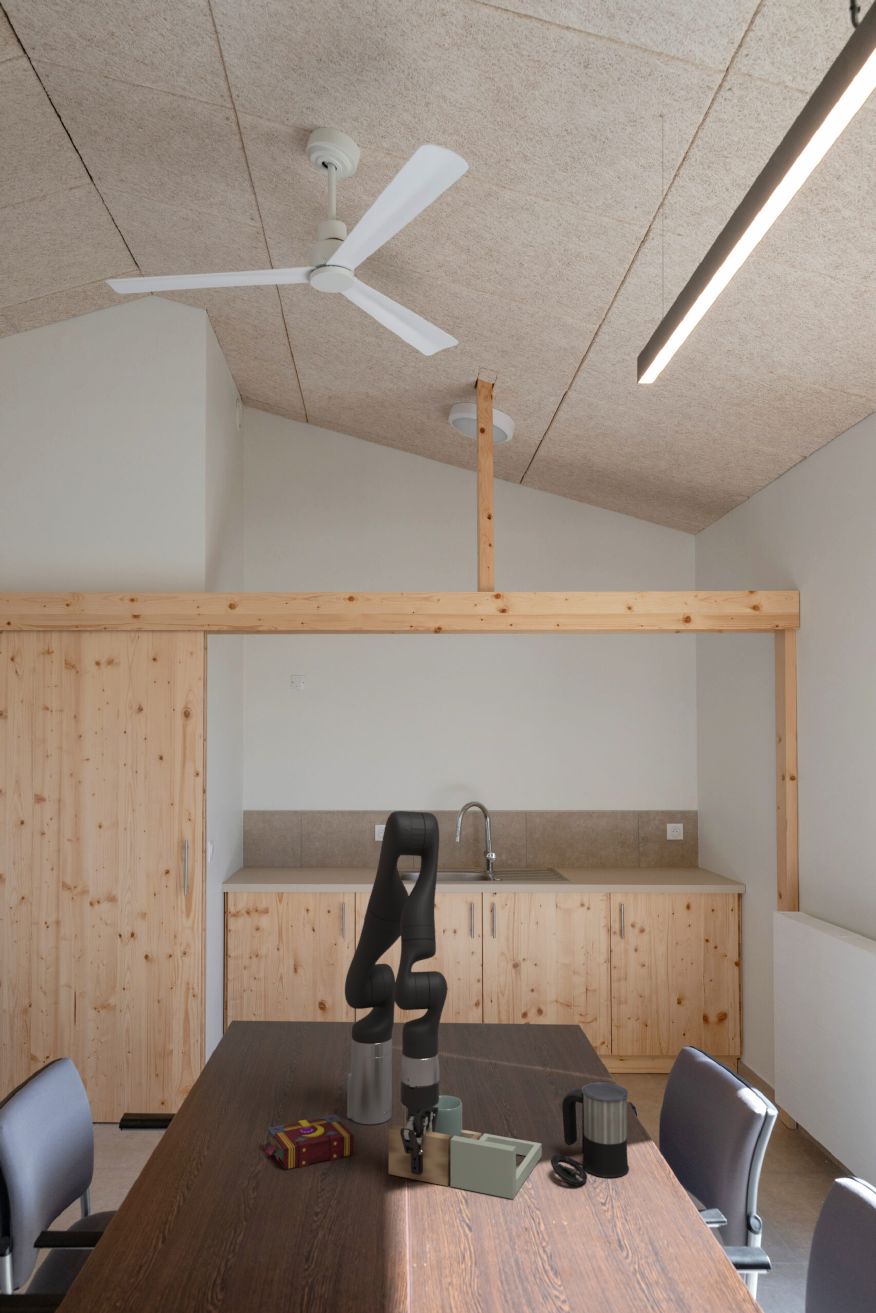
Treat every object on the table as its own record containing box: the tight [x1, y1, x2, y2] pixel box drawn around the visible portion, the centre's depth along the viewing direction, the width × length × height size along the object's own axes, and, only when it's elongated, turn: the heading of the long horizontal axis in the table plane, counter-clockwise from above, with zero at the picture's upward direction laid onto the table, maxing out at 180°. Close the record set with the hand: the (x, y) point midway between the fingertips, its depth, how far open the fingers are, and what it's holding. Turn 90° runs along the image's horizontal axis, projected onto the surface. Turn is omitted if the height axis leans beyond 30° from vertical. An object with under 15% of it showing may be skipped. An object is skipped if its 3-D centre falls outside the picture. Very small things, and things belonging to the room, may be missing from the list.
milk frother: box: [550, 1082, 630, 1186], centre depth 175 cm, size 14×16×15 cm
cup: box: [434, 1094, 463, 1139], centre depth 184 cm, size 8×8×10 cm
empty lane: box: [449, 1133, 543, 1200], centre depth 176 cm, size 12×19×8 cm, turn 157°
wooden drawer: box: [388, 1124, 483, 1187], centre depth 180 cm, size 12×19×8 cm, turn 157°
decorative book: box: [264, 1114, 355, 1170], centre depth 183 cm, size 11×16×5 cm
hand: (419, 1170), depth 172 cm, fingers closed on wooden drawer, 2 cm apart
